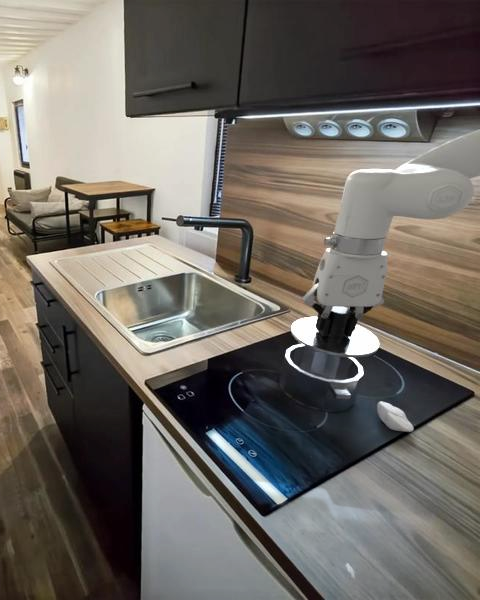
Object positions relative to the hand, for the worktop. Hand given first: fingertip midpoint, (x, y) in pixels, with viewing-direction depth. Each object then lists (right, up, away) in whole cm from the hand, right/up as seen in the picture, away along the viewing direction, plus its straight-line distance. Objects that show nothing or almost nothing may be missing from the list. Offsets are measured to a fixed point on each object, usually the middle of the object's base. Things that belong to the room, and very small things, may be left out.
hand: (333, 332), depth 72 cm
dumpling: (+9, -17, -3) cm, 20 cm away
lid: (0, -1, 0) cm, 1 cm away
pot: (0, -13, +6) cm, 15 cm away
